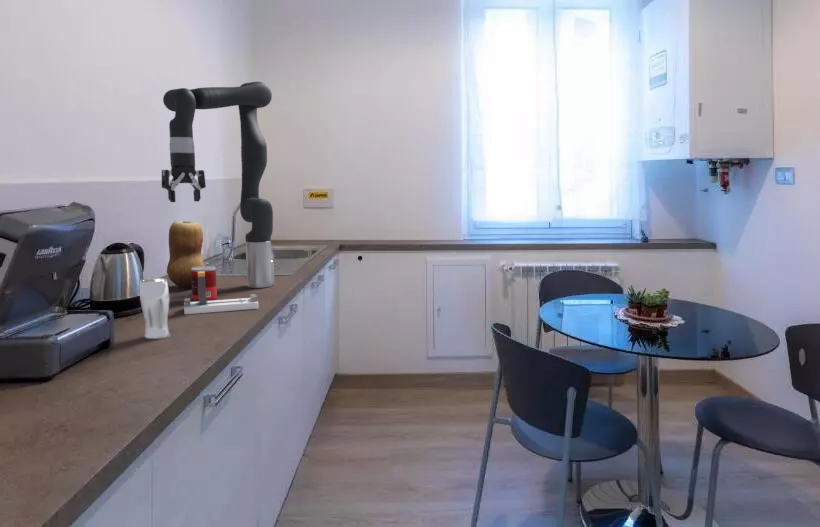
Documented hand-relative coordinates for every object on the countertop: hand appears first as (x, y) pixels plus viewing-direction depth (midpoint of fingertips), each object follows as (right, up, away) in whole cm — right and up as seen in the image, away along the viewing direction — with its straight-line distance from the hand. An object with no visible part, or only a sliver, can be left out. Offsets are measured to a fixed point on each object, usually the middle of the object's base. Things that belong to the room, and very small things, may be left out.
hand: (185, 201), depth 191 cm
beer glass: (+8, -40, -40) cm, 57 cm away
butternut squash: (-10, -30, +27) cm, 41 cm away
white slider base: (+15, -35, -8) cm, 39 cm away
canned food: (+5, -33, +5) cm, 34 cm away
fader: (+10, -33, -10) cm, 36 cm away
